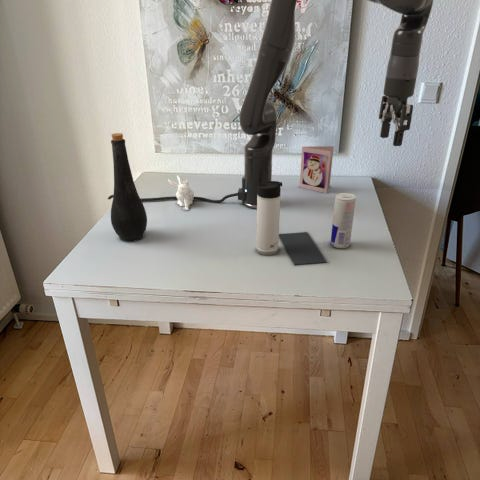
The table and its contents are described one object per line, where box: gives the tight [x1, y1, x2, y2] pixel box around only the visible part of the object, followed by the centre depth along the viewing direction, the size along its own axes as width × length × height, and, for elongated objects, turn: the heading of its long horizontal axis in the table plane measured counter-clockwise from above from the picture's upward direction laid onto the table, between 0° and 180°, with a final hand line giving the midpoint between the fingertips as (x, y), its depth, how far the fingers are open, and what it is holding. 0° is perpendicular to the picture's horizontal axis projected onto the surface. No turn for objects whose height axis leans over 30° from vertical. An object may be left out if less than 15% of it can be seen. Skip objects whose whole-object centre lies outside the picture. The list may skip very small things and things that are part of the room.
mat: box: [279, 231, 327, 266], centre depth 142 cm, size 20×9×1 cm, turn 9°
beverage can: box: [330, 192, 357, 249], centre depth 139 cm, size 6×6×15 cm
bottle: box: [110, 132, 148, 243], centre depth 140 cm, size 11×11×30 cm
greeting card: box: [299, 146, 335, 194], centre depth 180 cm, size 11×7×15 cm, turn 55°
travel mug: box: [256, 180, 283, 256], centre depth 135 cm, size 6×7×20 cm
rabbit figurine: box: [167, 175, 195, 211], centre depth 169 cm, size 12×8×10 cm, turn 170°
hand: (390, 141), depth 132 cm, fingers open, 8 cm apart
